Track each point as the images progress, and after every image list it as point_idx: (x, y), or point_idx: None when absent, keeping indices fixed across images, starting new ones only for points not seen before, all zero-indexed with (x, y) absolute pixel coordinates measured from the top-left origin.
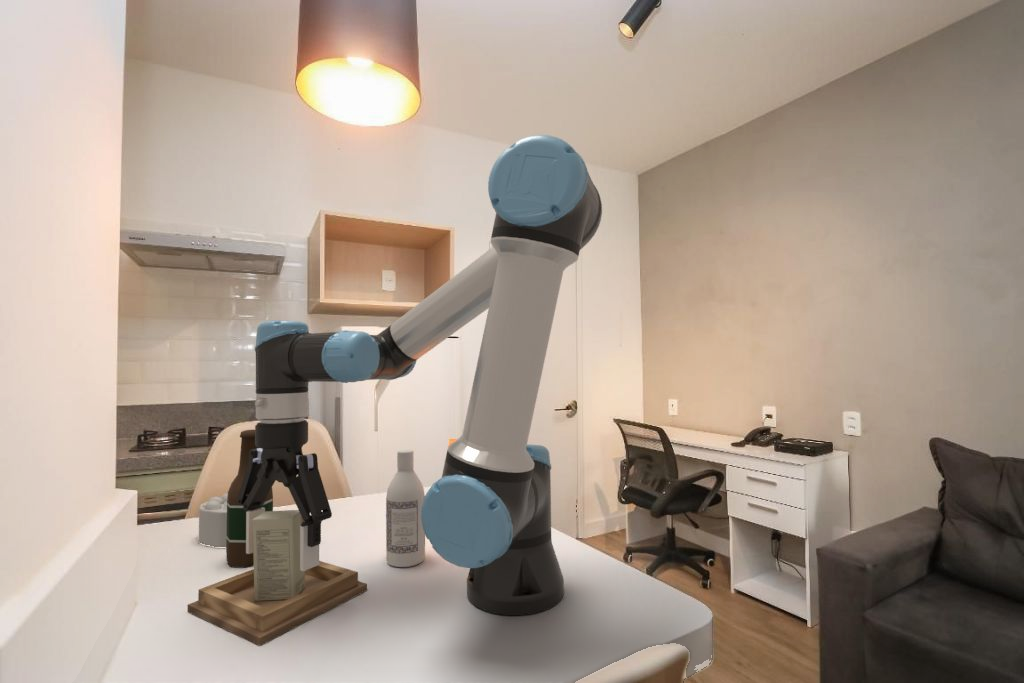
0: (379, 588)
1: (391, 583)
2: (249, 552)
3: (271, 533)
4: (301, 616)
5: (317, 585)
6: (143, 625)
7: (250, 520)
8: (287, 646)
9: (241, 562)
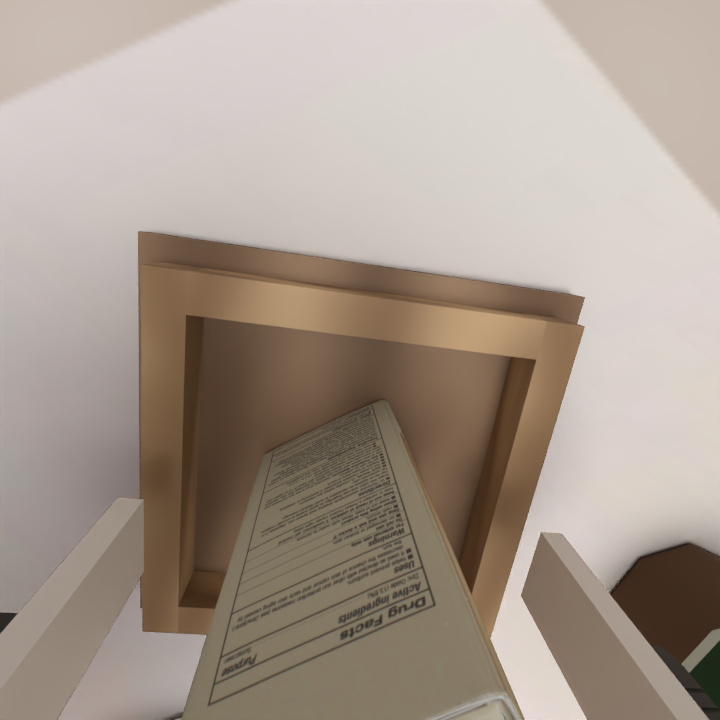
0: (126, 611)
1: (120, 643)
2: (543, 539)
3: (326, 628)
4: (140, 384)
5: None
6: (634, 176)
7: (660, 710)
8: (68, 265)
9: (664, 565)
